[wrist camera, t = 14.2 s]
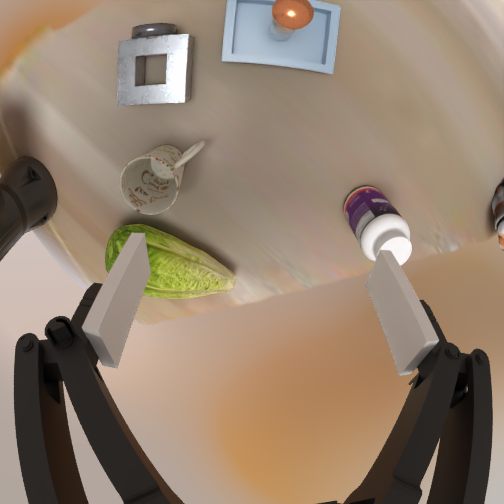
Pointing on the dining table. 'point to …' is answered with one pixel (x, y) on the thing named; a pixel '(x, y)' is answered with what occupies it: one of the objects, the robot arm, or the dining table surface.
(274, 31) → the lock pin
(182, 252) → the lettuce
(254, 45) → the tray
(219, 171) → the dining table surface
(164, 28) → the block
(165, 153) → the mug
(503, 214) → the lucky cat figurine
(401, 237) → the pill bottle
